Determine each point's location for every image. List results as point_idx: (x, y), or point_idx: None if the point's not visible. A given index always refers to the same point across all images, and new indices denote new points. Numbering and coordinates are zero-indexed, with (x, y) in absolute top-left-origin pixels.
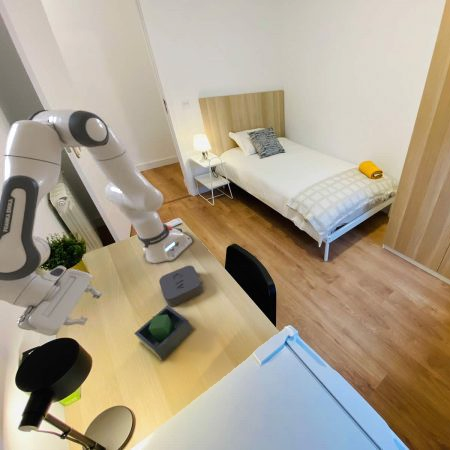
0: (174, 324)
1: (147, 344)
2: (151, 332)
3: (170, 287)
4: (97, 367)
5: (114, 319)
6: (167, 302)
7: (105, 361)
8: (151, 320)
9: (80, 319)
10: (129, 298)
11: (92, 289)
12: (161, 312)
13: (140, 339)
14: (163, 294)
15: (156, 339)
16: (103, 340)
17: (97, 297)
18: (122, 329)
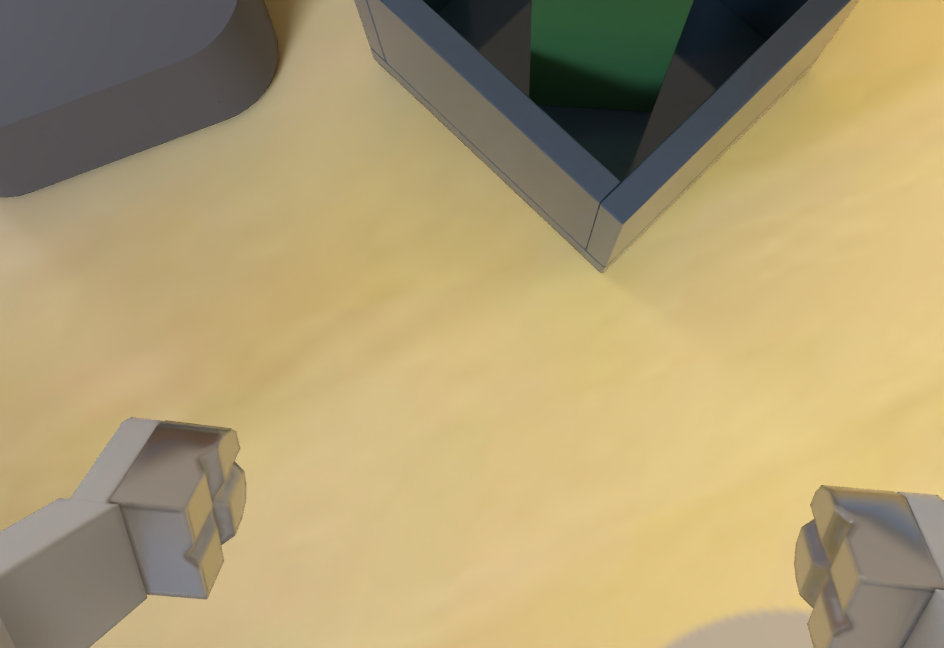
0: (498, 5)
1: (786, 60)
2: (688, 10)
3: (75, 11)
4: (768, 606)
5: (267, 608)
6: (241, 77)
7: (722, 550)
8: (501, 82)
9: (934, 575)
10: None
11: (14, 579)
12: (422, 2)
13: (675, 180)
14: (154, 66)
15: (662, 82)
16: (493, 643)
17: (233, 493)
18: (412, 490)
